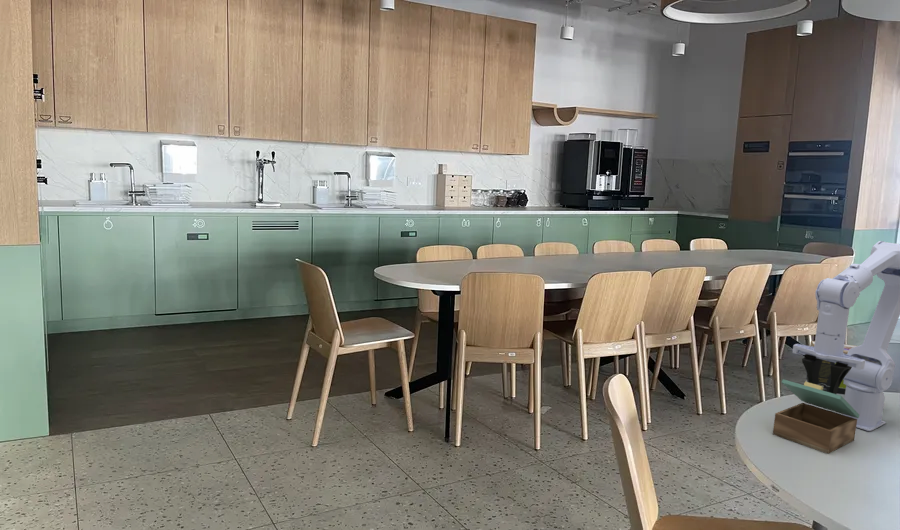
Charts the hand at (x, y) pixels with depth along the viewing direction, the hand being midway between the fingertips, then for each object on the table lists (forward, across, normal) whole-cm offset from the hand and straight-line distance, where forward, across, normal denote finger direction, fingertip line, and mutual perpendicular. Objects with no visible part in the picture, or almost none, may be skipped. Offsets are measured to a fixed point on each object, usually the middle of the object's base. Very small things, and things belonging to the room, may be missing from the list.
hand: (822, 391), depth 152 cm
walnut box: (+10, 0, -2) cm, 11 cm away
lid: (+2, 0, -1) cm, 2 cm away
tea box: (+11, -8, +29) cm, 32 cm away
